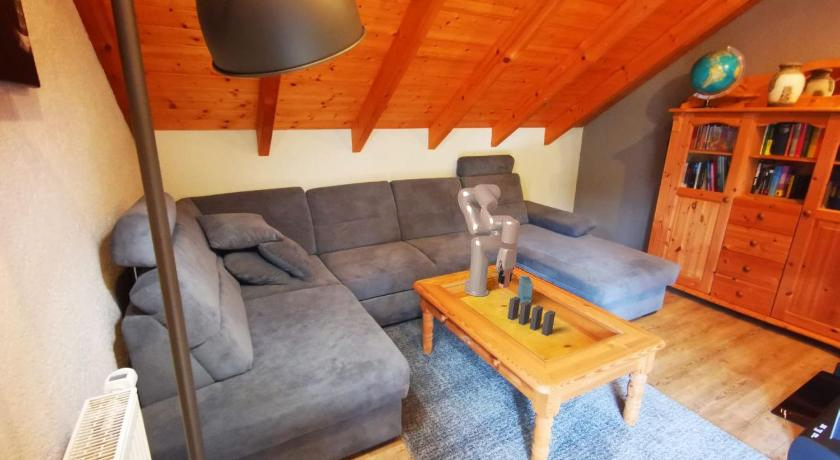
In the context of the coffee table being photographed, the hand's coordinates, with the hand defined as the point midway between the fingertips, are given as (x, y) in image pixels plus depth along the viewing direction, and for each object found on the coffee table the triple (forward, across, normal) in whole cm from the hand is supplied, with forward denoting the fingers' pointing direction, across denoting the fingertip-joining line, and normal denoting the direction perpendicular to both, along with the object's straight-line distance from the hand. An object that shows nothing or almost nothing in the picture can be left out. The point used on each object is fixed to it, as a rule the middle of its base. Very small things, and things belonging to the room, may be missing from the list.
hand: (504, 281), depth 191 cm
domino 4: (+16, 0, +19) cm, 25 cm away
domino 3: (+16, 0, +13) cm, 21 cm away
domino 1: (+2, 0, 0) cm, 2 cm away
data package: (+16, -22, -1) cm, 28 cm away
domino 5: (+16, 0, +25) cm, 30 cm away
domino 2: (+16, 0, +7) cm, 18 cm away
